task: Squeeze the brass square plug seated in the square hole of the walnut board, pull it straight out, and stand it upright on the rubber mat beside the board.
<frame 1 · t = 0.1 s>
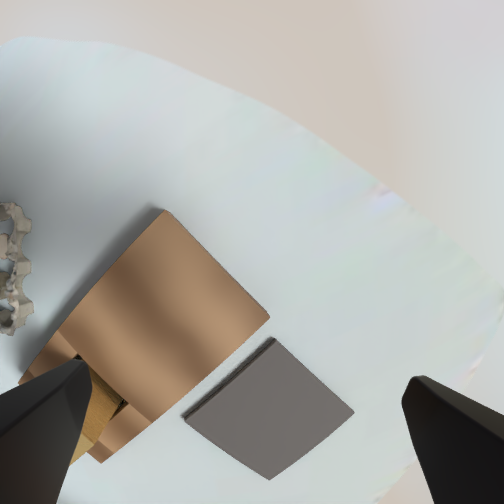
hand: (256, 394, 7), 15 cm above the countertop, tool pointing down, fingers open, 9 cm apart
walnut board: (127, 352, 22), on the countertop
brass plug: (93, 386, 22), resting in walnut board
rubber mat: (271, 417, 23), on the countertop
egg carton: (8, 265, 22), on the countertop
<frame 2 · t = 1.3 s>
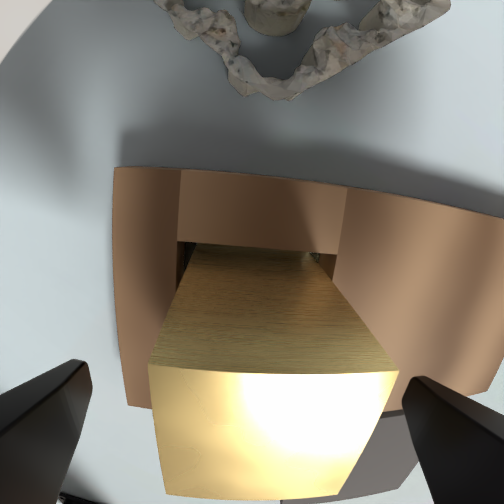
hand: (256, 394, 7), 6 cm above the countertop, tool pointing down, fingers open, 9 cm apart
walnut board: (360, 303, 13), on the countertop
brass plug: (248, 297, 13), resting in walnut board
rubber mat: (363, 459, 17), on the countertop
egg carton: (304, 3, 10), on the countertop
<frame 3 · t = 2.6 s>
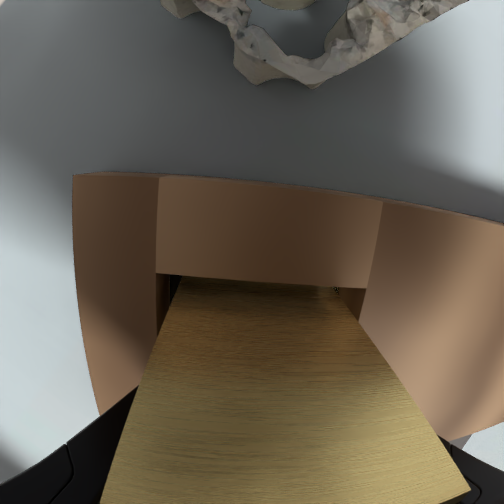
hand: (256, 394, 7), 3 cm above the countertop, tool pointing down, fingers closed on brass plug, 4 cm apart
walnut board: (384, 337, 11), on the countertop
brass plug: (250, 334, 10), resting in walnut board, touching gripper
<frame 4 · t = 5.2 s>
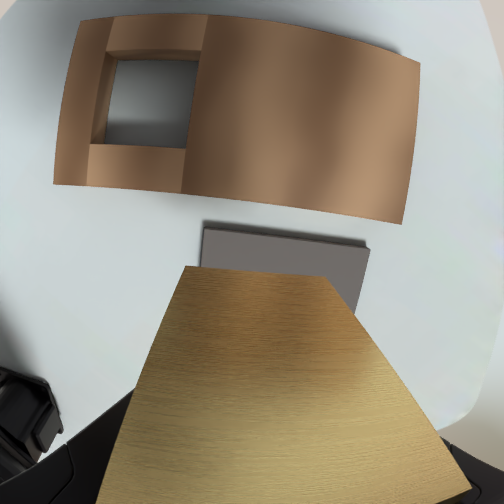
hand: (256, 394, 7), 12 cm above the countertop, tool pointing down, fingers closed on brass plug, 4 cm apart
walnut board: (238, 108, 16), on the countertop
brass plug: (249, 333, 10), point 9 cm above the countertop, touching gripper
rubber mat: (277, 313, 20), on the countertop
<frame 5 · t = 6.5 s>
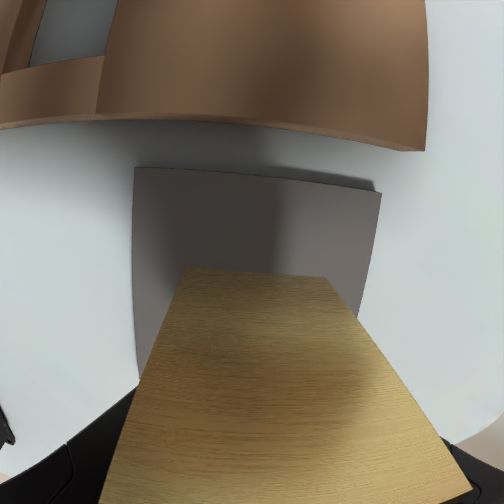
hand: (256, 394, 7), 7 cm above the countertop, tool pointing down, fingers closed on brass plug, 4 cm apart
walnut board: (183, 13, 10), on the countertop
brass plug: (250, 334, 10), point 4 cm above the countertop, touching gripper
rubber mat: (248, 292, 14), on the countertop
when the fingers open (5 cm above the countertop, at t = 7.6 s): brass plug stays where it is, resting on rubber mat.
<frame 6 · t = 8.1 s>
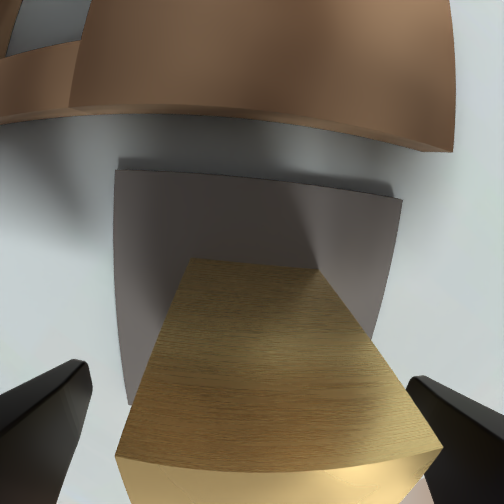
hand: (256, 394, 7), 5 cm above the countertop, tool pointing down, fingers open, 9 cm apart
brass plug: (248, 321, 11), point 1 cm above the countertop, touching rubber mat
rubber mat: (249, 313, 12), on the countertop
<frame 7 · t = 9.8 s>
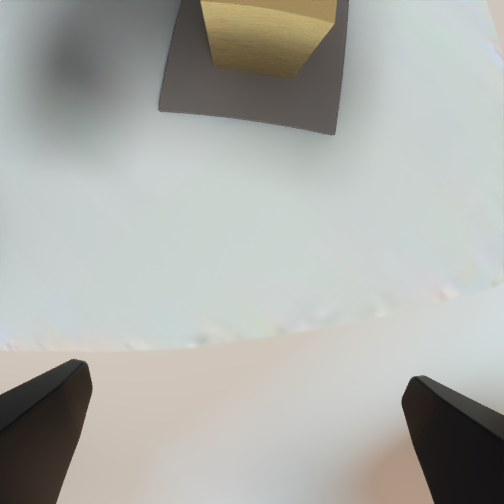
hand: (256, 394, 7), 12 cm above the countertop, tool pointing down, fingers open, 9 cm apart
brass plug: (259, 39, 15), point 1 cm above the countertop, touching rubber mat
rubber mat: (259, 42, 15), on the countertop
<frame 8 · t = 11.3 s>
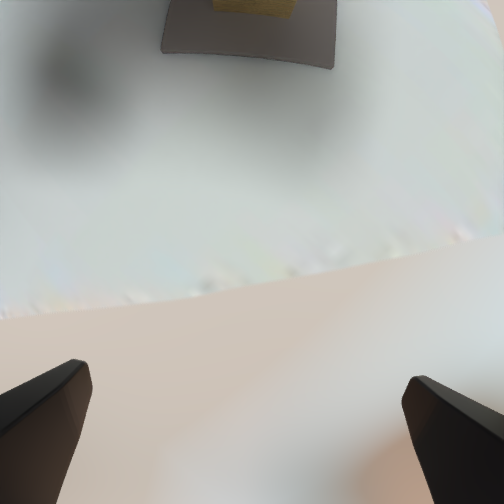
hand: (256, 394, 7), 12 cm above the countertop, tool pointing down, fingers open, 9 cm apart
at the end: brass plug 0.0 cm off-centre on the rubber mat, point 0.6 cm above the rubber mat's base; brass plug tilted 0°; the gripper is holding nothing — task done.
